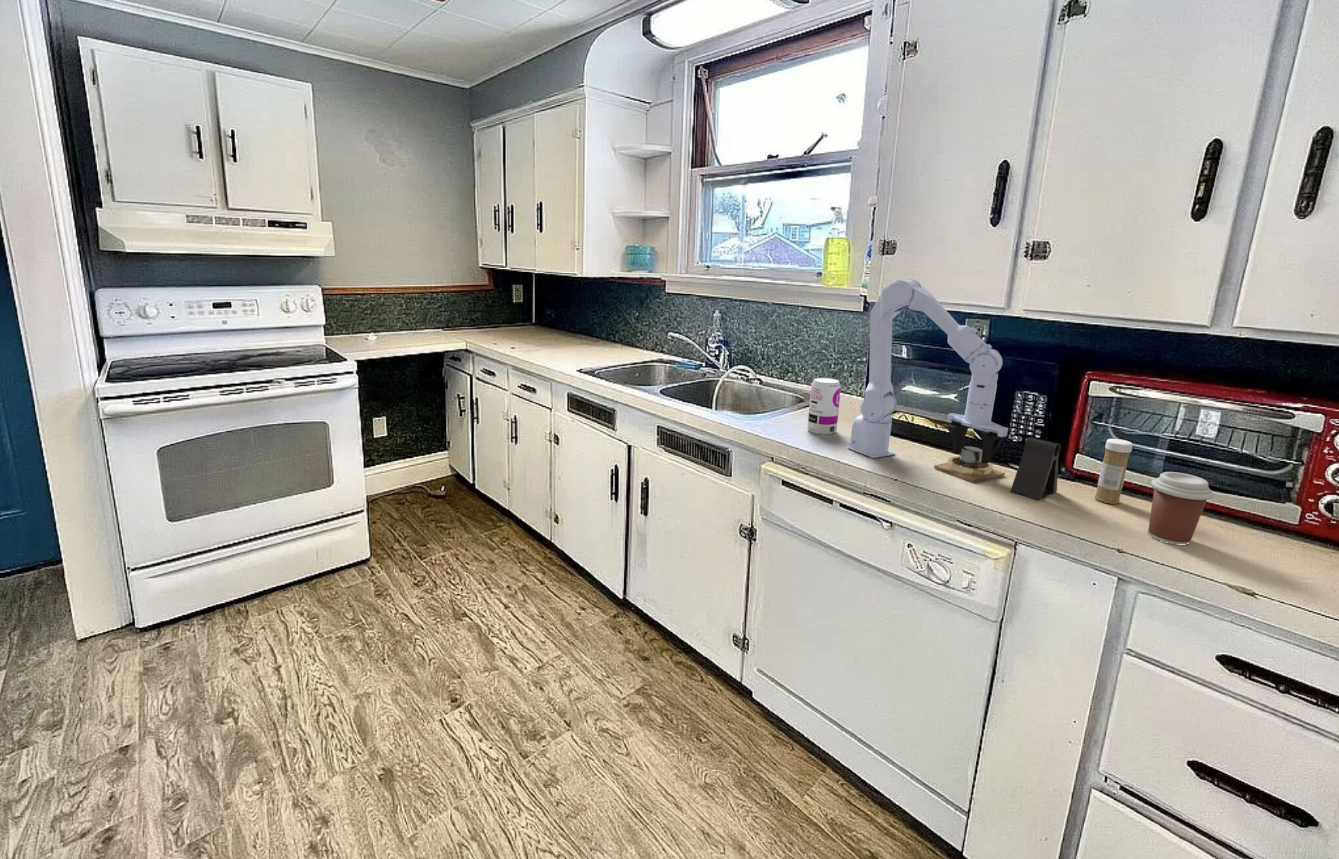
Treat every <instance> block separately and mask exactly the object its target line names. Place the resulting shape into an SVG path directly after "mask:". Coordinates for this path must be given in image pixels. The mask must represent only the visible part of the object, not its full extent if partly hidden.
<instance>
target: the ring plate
mask: <svg viewBox="0 0 1339 859" xmlns="http://www.w3.org/2000/svg"><path fill="white" fill-rule="evenodd" d="M959 460H960V455H959V456H958V455H956V456H951V457H949V458H948V460H947V462H945V463H939V464H935V465H934V466H933V469H934V468H936V469H935V470H937V469H938V470H937V471H940V470H941V472H943V473H945V472H947V473H946V474H948V475H950V474H951V476H954V477H956V478H959V479H962V480H965V481H967V482H970V483H972V484H976V483H980V482H985V481H990V480H993V479H998V478H1003V477H1005V474H1006V473H1005V472H1003V471H1000V470H998V469H994V468H993V467H994V465H993V463H991V462H989V463H985V464H983V463H981V464H980V468H969V467H963V466H960V465H959Z"/></svg>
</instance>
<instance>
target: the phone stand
mask: <svg viewBox="0 0 1339 859" xmlns="http://www.w3.org/2000/svg"><path fill="white" fill-rule="evenodd" d="M1060 451H1061V444H1060V443H1058V442H1053V441H1049V440H1045V439H1041V438H1037V437H1032V436H1030V437H1027V438H1026V440H1025V443H1024V449H1023V453H1022V456H1021V459H1020V462H1019V465H1018V467H1017V471H1016V473H1015V476H1014V480H1013V482H1012V484H1011V488H1010V491H1009V492H1010V493H1012V494H1013V493H1014V494H1015V495H1016V494H1017V495H1019V496H1022V497H1026V498H1029V499H1033V500H1036V501H1042V500H1043V499H1045V498H1048V497H1050V496H1052V495H1053V494H1056V493H1057V491H1058V477H1059V476H1058V475H1059V474H1058V471H1059V470H1058V469H1059V456H1060V455H1059V454H1060ZM1049 495H1050V496H1049Z"/></svg>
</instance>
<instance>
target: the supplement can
mask: <svg viewBox="0 0 1339 859" xmlns="http://www.w3.org/2000/svg"><path fill="white" fill-rule="evenodd" d="M810 385H811V386H810V396H809V398H810V399H809V408H808V410H809V411H808V416H807V418H808V419H807V429H808V430H809V432H810V433H812V434H816V435H822V436H823V435H824V436H828V435H833V434H835V433H836V432H837V431H838V430H837V429H838V420H839V411H840V398H841V392H842V391H841V390H842V385H841V384H840V380H838V379H836V378H829V377H816V378H814V379H813V381H812V382H811V384H810Z"/></svg>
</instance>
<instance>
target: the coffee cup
mask: <svg viewBox="0 0 1339 859" xmlns="http://www.w3.org/2000/svg"><path fill="white" fill-rule="evenodd" d="M1150 486H1151V488H1153V496H1152V500H1151V501H1152V502H1151V508H1150V515H1149V516H1150V517H1149V523H1148V530H1147V536H1149V535H1150V536H1152V537H1153V538H1156V539H1157V540H1161V541H1163V542H1168V543H1172V544H1187V543H1189V542H1190V543H1191V541H1192V539H1193V536H1194V533H1195V531H1196V528H1197V525H1198V523H1199V521H1200V518H1201V516H1202V514H1203V511H1204V508H1205V505H1206V503H1207V501H1208V500H1211V499H1213V497H1214V492H1213V490H1212V489H1210V487H1209V482H1208V481H1207V480H1206V479H1204V478H1202V477H1199V476H1197V475H1193V474H1189V473H1183V472H1177V471H1176V472H1175V471H1165V472H1162V473H1160V474H1159V477H1157V478H1154V479H1152V480H1151V482H1150ZM1150 536H1149V537H1150ZM1153 538H1152V539H1153ZM1157 540H1156V541H1157ZM1163 542H1162V543H1163ZM1172 544H1171V545H1172Z"/></svg>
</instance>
